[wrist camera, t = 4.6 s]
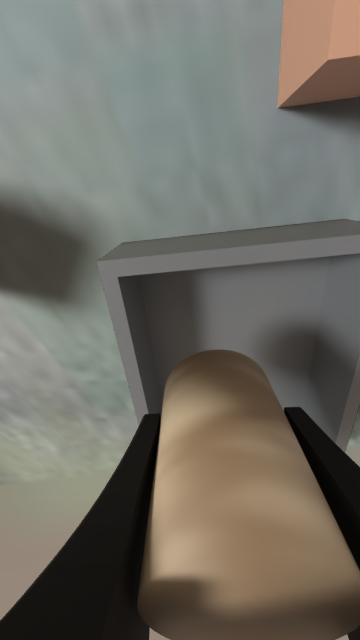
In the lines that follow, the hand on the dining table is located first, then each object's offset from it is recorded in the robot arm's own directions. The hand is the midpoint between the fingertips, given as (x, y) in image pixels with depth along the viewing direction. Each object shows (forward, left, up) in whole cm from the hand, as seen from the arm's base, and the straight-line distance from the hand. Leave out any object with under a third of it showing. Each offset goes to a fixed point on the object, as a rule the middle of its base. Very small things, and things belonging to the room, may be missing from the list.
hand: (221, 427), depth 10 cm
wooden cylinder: (0, 0, -2) cm, 2 cm away
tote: (-2, +2, -9) cm, 9 cm away
